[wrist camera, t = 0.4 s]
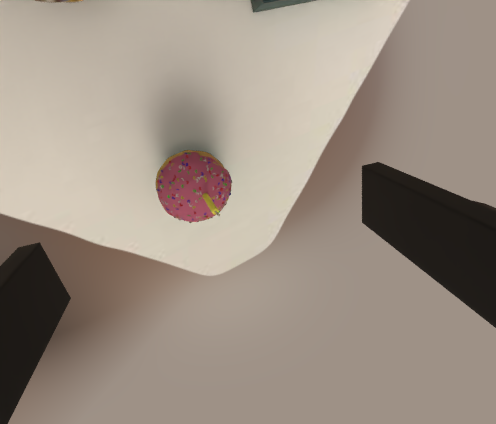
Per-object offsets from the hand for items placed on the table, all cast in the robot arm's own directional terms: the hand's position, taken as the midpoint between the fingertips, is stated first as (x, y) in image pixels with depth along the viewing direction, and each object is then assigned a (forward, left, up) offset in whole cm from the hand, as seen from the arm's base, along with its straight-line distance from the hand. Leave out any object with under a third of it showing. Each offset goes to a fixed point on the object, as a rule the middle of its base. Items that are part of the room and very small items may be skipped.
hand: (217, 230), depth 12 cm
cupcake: (+6, -2, -27) cm, 28 cm away
